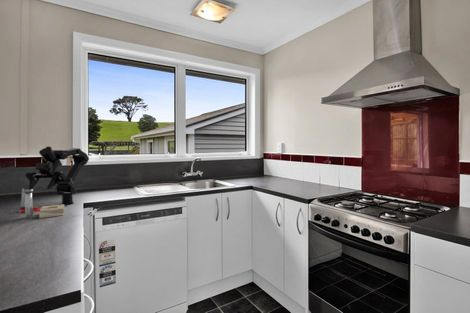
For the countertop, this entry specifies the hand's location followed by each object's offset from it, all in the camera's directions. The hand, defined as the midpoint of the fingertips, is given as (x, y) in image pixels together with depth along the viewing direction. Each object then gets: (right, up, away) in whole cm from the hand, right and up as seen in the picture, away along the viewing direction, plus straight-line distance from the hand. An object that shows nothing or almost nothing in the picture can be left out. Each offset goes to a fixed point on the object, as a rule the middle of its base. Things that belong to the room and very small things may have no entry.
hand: (38, 189), depth 136 cm
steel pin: (+1, -13, -7) cm, 15 cm away
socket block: (+8, -13, -1) cm, 15 cm away
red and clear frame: (-10, -14, +8) cm, 19 cm away
